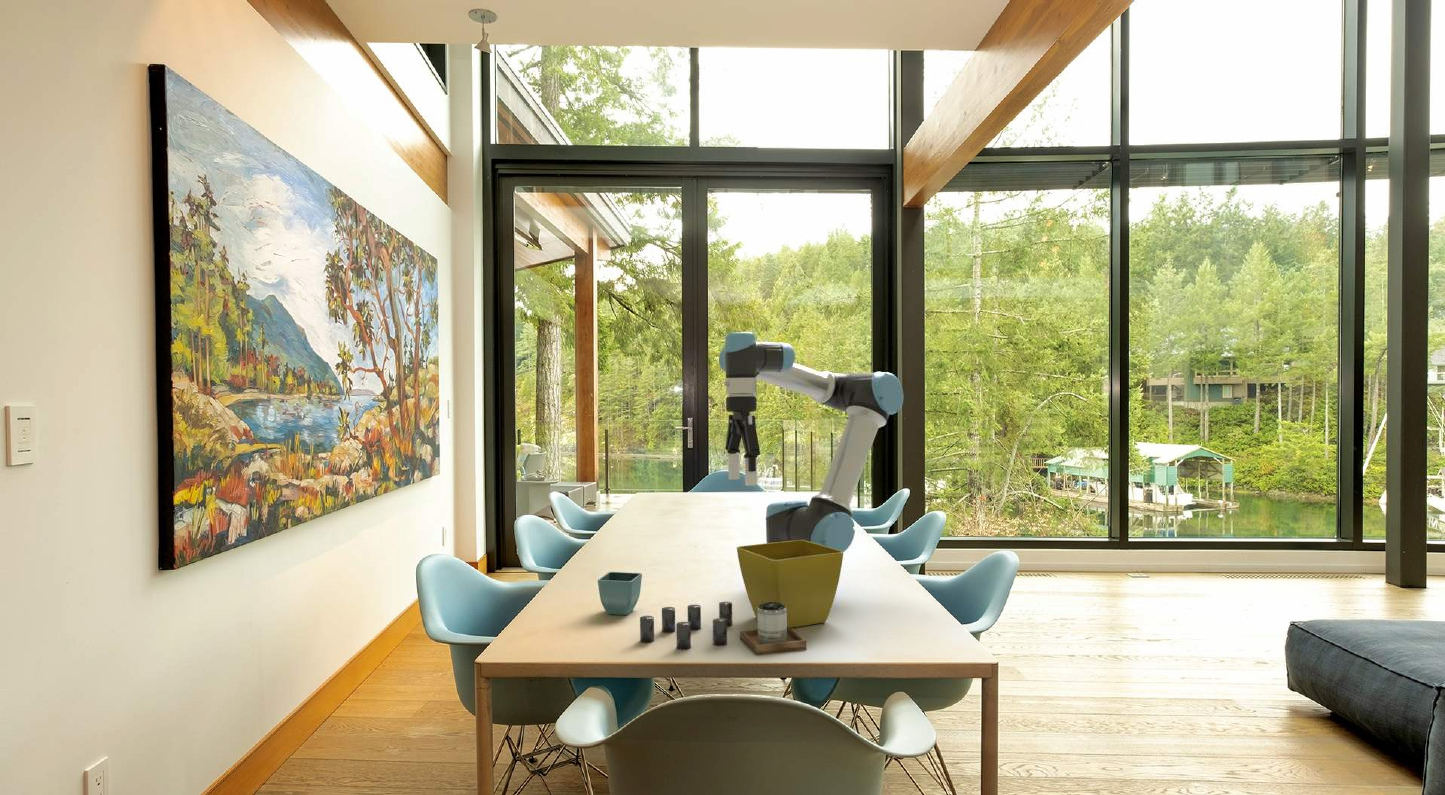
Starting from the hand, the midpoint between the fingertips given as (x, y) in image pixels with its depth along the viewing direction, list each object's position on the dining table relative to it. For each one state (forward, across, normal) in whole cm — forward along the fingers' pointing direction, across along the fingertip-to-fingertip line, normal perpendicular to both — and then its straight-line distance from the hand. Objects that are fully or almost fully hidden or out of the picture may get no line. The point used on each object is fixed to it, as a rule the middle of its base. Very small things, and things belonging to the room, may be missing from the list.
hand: (742, 482), depth 193 cm
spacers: (+32, +16, -17) cm, 39 cm away
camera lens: (+31, +26, -2) cm, 41 cm away
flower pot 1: (+32, -9, -29) cm, 44 cm away
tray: (+32, +26, -2) cm, 41 cm away
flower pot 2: (+32, +10, +8) cm, 35 cm away
